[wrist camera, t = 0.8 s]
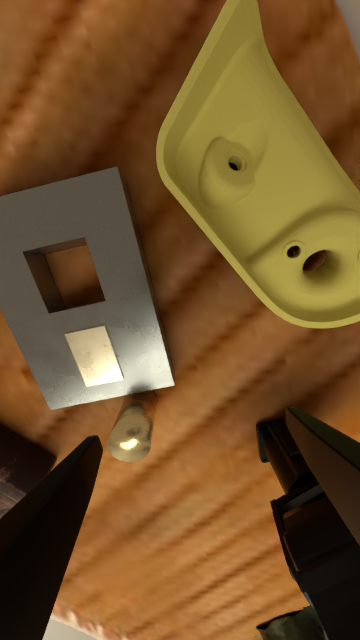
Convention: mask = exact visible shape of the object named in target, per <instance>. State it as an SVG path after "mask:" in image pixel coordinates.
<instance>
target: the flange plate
mask: <svg viewBox="0 0 360 640" xmlns="http://www.w3.org/2000/svg"><path fill="white" fill-rule="evenodd" d="M86 244H87V245H88V248H89V251H90V254H91V257H92V260H93V264H94V267H95V270H96V273H97V276H98V279H99V282H100V285H101V288H102V291H103V294H104V297H105V300H101V301H97V302H92V303H88V304H83V305H79V306H74V307H70V308H65V307H64V304H63V302H62V299H61V297H60V294H59V291H58V289H57V286H56V284H55V281H54V279H53V276H52V274H51V271H50V269H49V266H48V264H47V261H46V259H45V256H44V254H48V253H52V252H57V251H61V250H65V249H69V248H73V247H78V246H82V245H86ZM0 310H1V312H2V314H3V316H4V318H5V320H6V322H7V324H8V326H9V328H10V330H11V332H12V334H13V336H14V338H15V340H16V342H17V344H18V346H19V348H20V350H21V352H22V354H23V356H24V358H25V360H26V362H27V364H28V366H29V368H30V370H31V372H32V374H33V376H34V378H35V380H36V382H37V384H38V386H39V388H40V390H41V392H42V394H43V396H44V398H45V400H46V402H47V404H48V406H49V408H50V410H52V409H57V408H62V407H67V406H72V405H77V404H82V403H88V402H93V401H98V400H103V399H108V398H113V397H118V396H123V395H128V394H133V393H138V392H143V391H148V390H153V389H158V388H163V387H169V386H174V381H175V372H174V368H173V364H172V360H171V356H170V352H169V348H168V344H167V340H166V336H165V332H164V328H163V324H162V320H161V317H160V313H159V309H158V305H157V301H156V297H155V293H154V289H153V285H152V281H151V277H150V273H149V269H148V265H147V261H146V257H145V254H144V250H143V246H142V242H141V238H140V234H139V230H138V226H137V222H136V218H135V214H134V210H133V206H132V202H131V198H130V195H129V191H128V187H127V183H126V181H125V179H124V177H123V176H122V174H121V172H120V170H119V168H118V167H113V168H109V169H105V170H101V171H97V172H93V173H89V174H85V175H82V176H78V177H74V178H70V179H66V180H62V181H58V182H54V183H50V184H46V185H42V186H38V187H34V188H30V189H27V190H23V191H19V192H15V193H11V194H7V195H3V196H0Z"/></svg>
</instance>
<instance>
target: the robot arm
mask: <svg viewBox="0 0 360 640" xmlns="http://www.w3.org/2000/svg"><path fill="white" fill-rule="evenodd" d="M256 431H257V439H258V447H259V455H260V459H261V461H262V462H263V463H266V462H270V463H271V465H272V467H273V470H274V472H275V474H276V476H277V478H278V480H279V482H280V484H281V486H282V488H283V490H284V492H285V495H283V496H281V497H280V498H278V499H276V500H275V499H274V500H272V501H270V503H271V507H272V510H273V516H274V519H275V523H276V526H277V530H278V534H279V537H280V541H281V544H282V548H283V552H284V555H285V559H286V562H287V565H288V567H289V571H290V574H291V576H292V578H293V579H294V580H295V581H296V582H297V584H298V585H299V587H300V589H301V591H302V593H303V594H304V596H305V598H306V599H307V601H308V602H309V603H310V605H311V606H312V607H313V608H314V609H315V610H316V612H317V614H318V617H319V619H320V621H321V623H322V625H323V628H324V630H325V632H326V635H327V637H328V639H329V640H360V443H359V442H357V441H356V440H354V439H352V438H350V437H348V436H347V435H345V434H343V433H341V432H340V431H338V430H336V429H334V428H333V427H331V426H329V425H327V424H326V423H324V422H322V421H320V420H318V419H317V418H315V417H313V416H311V415H310V414H308V413H306V412H304V411H303V410H301V409H299V408H297V407H288V408H286V419H281V420H276V421H270V422H265V423H259V424H257V425H256ZM102 453H103V448H102V445H101V442H100V439H99V437H98V435H93V436H89V437H87V438H86V439H85V440H84V441H83V442H82V443H81V444H80V445H79V446H77V447H76V448H75V449H74V450H73V451H72V452H71V453H70V454H69V455H68V456H67V457H66V458H65V459H64V460H63V461H61V462H60V463H59V464H58V465H57V466H56V467H55V468H54V469H53V470H52V471H51V472H50V473H49V474H48V475H46V476H45V477H44V478H43V479H42V480H41V481H40V482H39V483H38V484H37V485H36V486H35V487H34V488H33V489H32V490H30V491H29V492H28V493H27V494H26V495H25V496H24V497H23V498H22V499H21V500H20V501H19V502H18V503H17V504H15V505H14V506H13V507H12V508H11V509H10V510H9V511H8V512H7V513H6V514H5V515H4V516H3V517H2V518H0V640H42V639H43V636H44V633H45V630H46V627H47V624H48V621H49V619H50V616H51V613H52V610H53V607H54V604H55V601H56V598H57V595H58V592H59V589H60V586H61V583H62V580H63V578H64V575H65V572H66V569H67V566H68V563H69V560H70V557H71V554H72V551H73V548H74V545H75V542H76V540H77V537H78V534H79V531H80V528H81V525H82V522H83V519H84V516H85V513H86V510H87V507H88V504H89V501H90V498H91V495H92V492H93V488H94V485H95V481H96V477H97V473H98V469H99V465H100V461H101V457H102Z"/></svg>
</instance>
